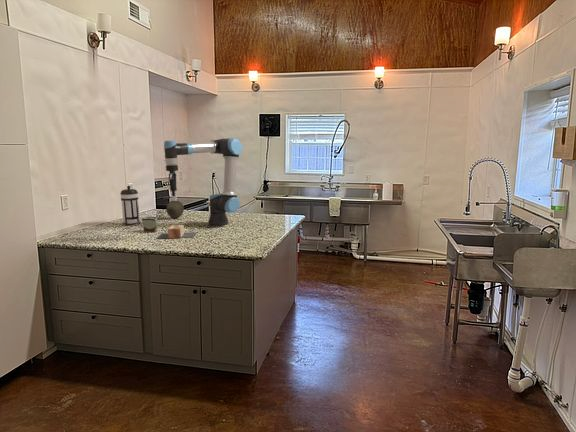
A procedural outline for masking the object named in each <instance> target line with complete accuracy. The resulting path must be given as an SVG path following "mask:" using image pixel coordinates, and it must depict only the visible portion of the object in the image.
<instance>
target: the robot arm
mask: <svg viewBox="0 0 576 432" xmlns="http://www.w3.org/2000/svg"><path fill="white" fill-rule="evenodd" d="M163 149H164V158H165V159H164V162H165V171H167V172H169V174H168V181H169V188H170V190H169V191H170V192H171V201H178V200H177V191H178V189H177V173H176V172H177V171H179V166H178V156H186V155H187V156H188V155H189V156H190V155H193V154H205V153H210V154H212V155H213V154H217V155H218V154H219V155H222V157H223V159H224V166H223V167H224V169H223V171H224V172H223V189H222V193H218V194H210V195H209V209H210V210H209V212H210V213H209V214H210V215H209V219H208V225H209V226H226V225H228V224H229V219H228V216H227V214H226V213H228V214H229V213H230V214H233V213H236V212H237V211H238V210H239V208H240V206H241V205H240V204H241V202H240V200H239V198H238V194H237V193H236V185H237V184H236V180H237V179H236V177H237V160H238V159H239V156H240V154H242V152H243V144H242V142H241V141H240V139H238V138H234V137H232V138H230V137H229V138H219V139H212V140H209V141H201V142H199V141H198V142H180V143H177V141H176V140H165V141H164V142H163Z"/></svg>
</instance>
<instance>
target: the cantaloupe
mask: <svg viewBox="0 0 576 432" xmlns="http://www.w3.org/2000/svg"><path fill="white" fill-rule="evenodd" d="M184 209H185V208H184V204H183V203H182V202H181V201H179V200H177V201H172V200H171V201H169V202H168V203H167V205H166V210H165V211H166V213H167V215H168V216H169V217H170V218H172V219H178V218H180V217H182V215H183V214H184V211H185V210H184Z"/></svg>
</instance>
